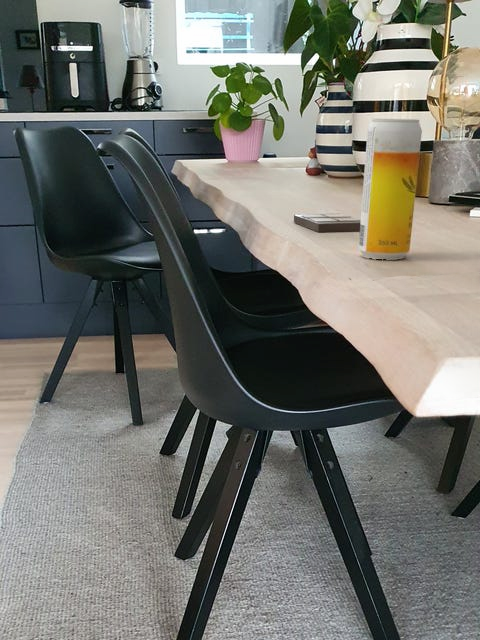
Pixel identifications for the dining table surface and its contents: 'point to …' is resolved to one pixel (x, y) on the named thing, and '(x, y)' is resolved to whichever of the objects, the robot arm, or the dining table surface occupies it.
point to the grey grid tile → (328, 222)
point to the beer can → (389, 188)
